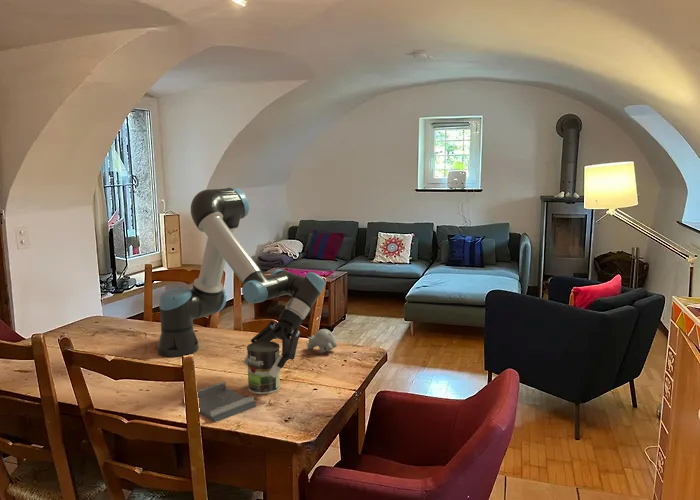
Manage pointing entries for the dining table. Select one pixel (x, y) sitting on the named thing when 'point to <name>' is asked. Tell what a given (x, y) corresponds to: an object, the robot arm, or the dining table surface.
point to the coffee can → (262, 367)
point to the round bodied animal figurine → (322, 341)
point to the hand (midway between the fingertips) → (258, 369)
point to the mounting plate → (222, 402)
